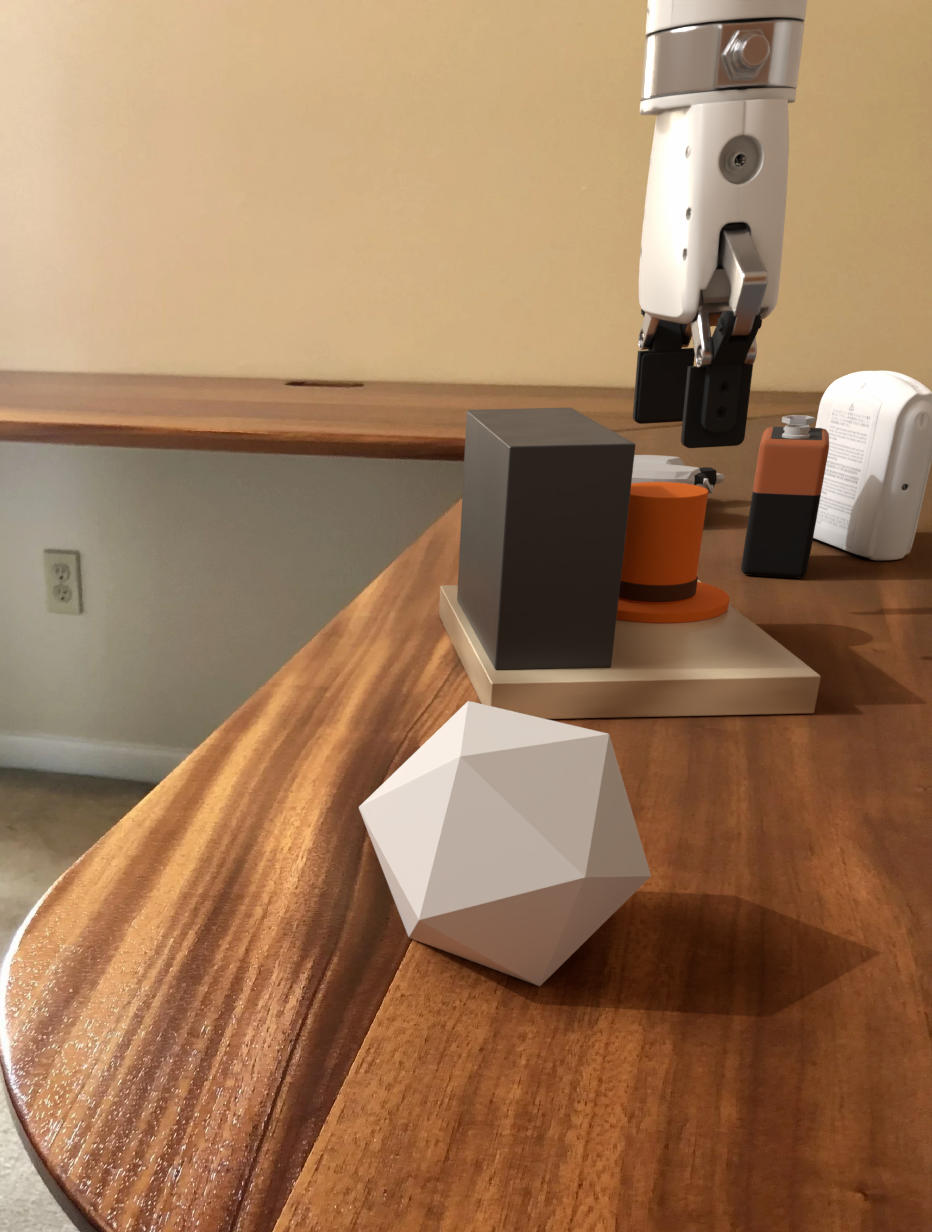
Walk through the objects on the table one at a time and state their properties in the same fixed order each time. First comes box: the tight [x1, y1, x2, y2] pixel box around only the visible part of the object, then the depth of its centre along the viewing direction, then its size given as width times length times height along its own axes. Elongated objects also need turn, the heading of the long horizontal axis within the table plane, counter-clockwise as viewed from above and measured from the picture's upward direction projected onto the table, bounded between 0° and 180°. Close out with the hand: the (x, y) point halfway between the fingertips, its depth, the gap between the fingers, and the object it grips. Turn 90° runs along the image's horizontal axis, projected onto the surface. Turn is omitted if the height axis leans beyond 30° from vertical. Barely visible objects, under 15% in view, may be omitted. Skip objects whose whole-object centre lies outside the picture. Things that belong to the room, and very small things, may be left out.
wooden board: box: [438, 579, 822, 720], centre depth 74 cm, size 16×20×2 cm
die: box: [358, 700, 652, 987], centre depth 43 cm, size 8×9×10 cm
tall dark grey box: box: [457, 406, 636, 670], centre depth 70 cm, size 6×14×11 cm, turn 0°
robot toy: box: [631, 454, 725, 495], centre depth 111 cm, size 12×4×15 cm
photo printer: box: [813, 370, 932, 562], centre depth 95 cm, size 10×4×12 cm, turn 11°
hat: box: [616, 482, 730, 623], centre depth 76 cm, size 9×9×7 cm
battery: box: [740, 414, 829, 579], centre depth 91 cm, size 4×7×10 cm, turn 159°
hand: (684, 433), depth 73 cm, fingers open, 9 cm apart
